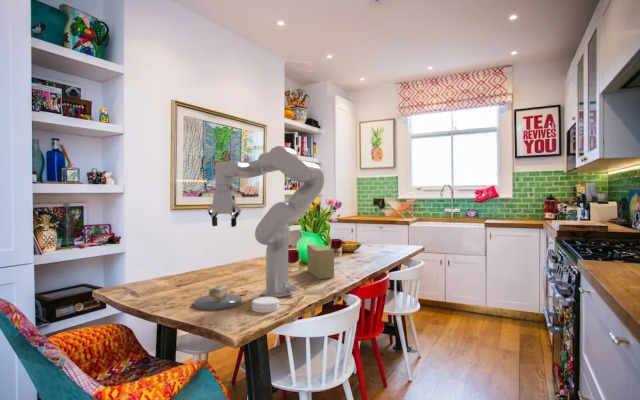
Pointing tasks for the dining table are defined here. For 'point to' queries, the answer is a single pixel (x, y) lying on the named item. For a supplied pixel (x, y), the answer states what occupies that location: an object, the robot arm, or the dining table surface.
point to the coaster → (265, 304)
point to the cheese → (320, 262)
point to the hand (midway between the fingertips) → (224, 226)
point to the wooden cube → (217, 293)
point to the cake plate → (217, 303)
